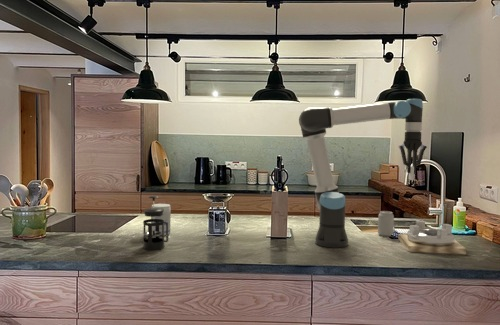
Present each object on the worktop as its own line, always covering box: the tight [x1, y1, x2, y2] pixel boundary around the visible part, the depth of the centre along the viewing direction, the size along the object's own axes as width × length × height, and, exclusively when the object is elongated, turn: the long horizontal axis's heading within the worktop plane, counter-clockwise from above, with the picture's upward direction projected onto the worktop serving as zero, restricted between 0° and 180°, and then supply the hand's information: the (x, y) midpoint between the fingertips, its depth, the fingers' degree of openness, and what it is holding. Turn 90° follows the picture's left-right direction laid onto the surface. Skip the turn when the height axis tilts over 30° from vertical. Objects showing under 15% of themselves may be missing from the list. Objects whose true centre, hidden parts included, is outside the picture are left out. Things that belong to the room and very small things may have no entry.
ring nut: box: [406, 220, 455, 246], centre depth 198 cm, size 20×20×7 cm
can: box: [377, 210, 395, 237], centre depth 218 cm, size 8×8×12 cm
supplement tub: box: [150, 203, 172, 236], centre depth 214 cm, size 10×10×15 cm
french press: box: [142, 195, 169, 251], centre depth 189 cm, size 12×9×23 cm
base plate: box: [397, 233, 467, 255], centre depth 198 cm, size 24×22×3 cm
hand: (411, 179), depth 209 cm, fingers closed
